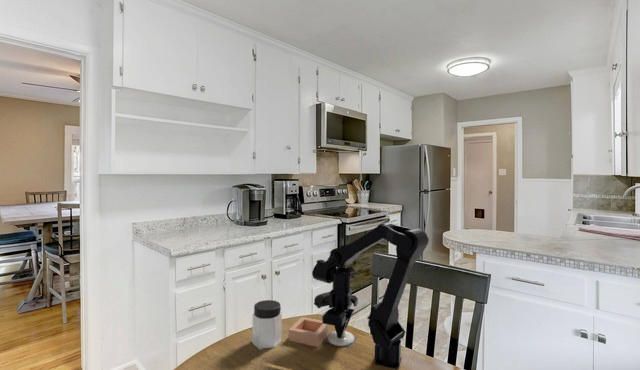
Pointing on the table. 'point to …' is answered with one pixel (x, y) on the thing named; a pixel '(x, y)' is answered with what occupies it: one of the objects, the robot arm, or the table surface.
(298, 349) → the table surface
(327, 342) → the mat
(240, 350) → the table surface
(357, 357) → the table surface
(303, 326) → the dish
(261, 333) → the jar
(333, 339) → the lid
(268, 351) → the table surface
